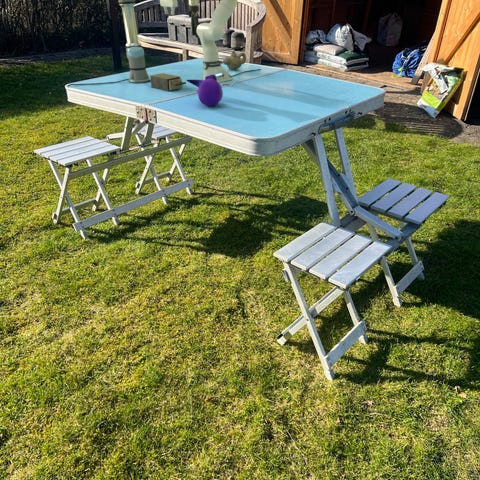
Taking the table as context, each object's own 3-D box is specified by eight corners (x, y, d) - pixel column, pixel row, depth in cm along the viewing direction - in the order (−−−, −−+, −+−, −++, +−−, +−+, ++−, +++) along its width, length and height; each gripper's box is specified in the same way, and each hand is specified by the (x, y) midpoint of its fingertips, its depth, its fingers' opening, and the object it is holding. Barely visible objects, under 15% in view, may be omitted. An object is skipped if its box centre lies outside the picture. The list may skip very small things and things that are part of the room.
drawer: (187, 88, 308) (186, 79, 305) (175, 91, 302) (174, 81, 299) (166, 84, 323) (165, 75, 320) (154, 86, 317) (153, 77, 314)
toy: (210, 97, 288) (222, 112, 267) (183, 92, 280) (194, 107, 260) (215, 72, 280) (229, 85, 259) (188, 67, 272) (200, 80, 252)
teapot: (226, 72, 363) (226, 52, 355) (220, 70, 372) (219, 50, 364) (249, 69, 372) (249, 50, 365) (242, 67, 381) (241, 48, 373)
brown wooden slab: (181, 88, 314) (180, 76, 309) (168, 91, 307) (167, 79, 303) (164, 84, 326) (163, 73, 322) (151, 87, 319) (150, 75, 315)
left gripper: (202, 6, 328) (203, 37, 339) (195, 4, 349) (197, 34, 359) (192, 6, 326) (194, 38, 337) (186, 5, 347) (188, 35, 358)
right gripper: (179, -10, 283) (180, 15, 290) (165, -10, 298) (167, 13, 305) (169, -9, 280) (172, 15, 287) (156, -10, 295) (159, 14, 302)
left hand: (195, 36), depth 348 cm, fingers open, 13 cm apart
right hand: (169, 14), depth 296 cm, fingers open, 8 cm apart
